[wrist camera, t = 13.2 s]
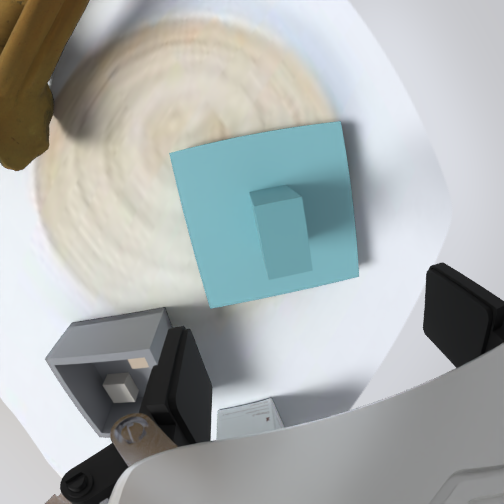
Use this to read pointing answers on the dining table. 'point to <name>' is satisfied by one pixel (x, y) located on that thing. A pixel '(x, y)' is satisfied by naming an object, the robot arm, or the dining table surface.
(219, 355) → the dining table surface
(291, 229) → the lid
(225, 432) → the supplement box
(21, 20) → the brown looped sculpture
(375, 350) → the dining table surface
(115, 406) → the tub
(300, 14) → the dining table surface
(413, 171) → the dining table surface
